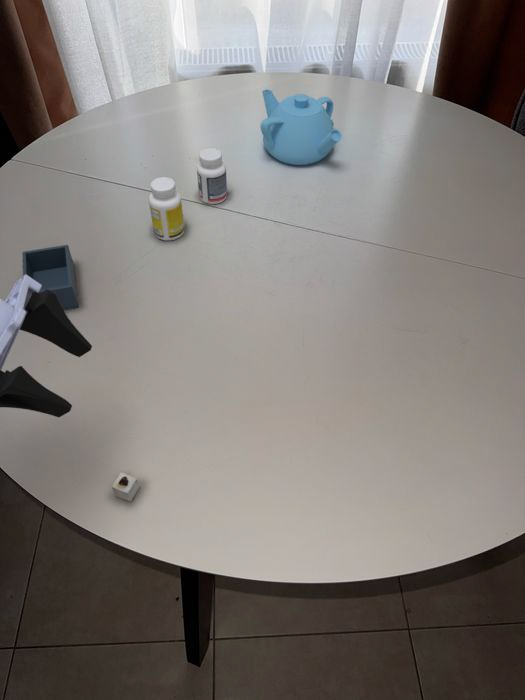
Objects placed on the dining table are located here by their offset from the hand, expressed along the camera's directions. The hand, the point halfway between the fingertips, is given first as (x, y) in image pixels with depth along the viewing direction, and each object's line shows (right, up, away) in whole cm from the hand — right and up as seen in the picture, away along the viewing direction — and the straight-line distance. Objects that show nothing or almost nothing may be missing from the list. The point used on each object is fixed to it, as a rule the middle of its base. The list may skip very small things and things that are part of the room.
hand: (76, 380), depth 59 cm
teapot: (+26, +44, +61) cm, 80 cm away
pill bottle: (+10, +32, +50) cm, 60 cm away
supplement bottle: (+3, +24, +43) cm, 50 cm away
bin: (-14, +13, +34) cm, 39 cm away
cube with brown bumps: (+3, -14, +12) cm, 18 cm away
